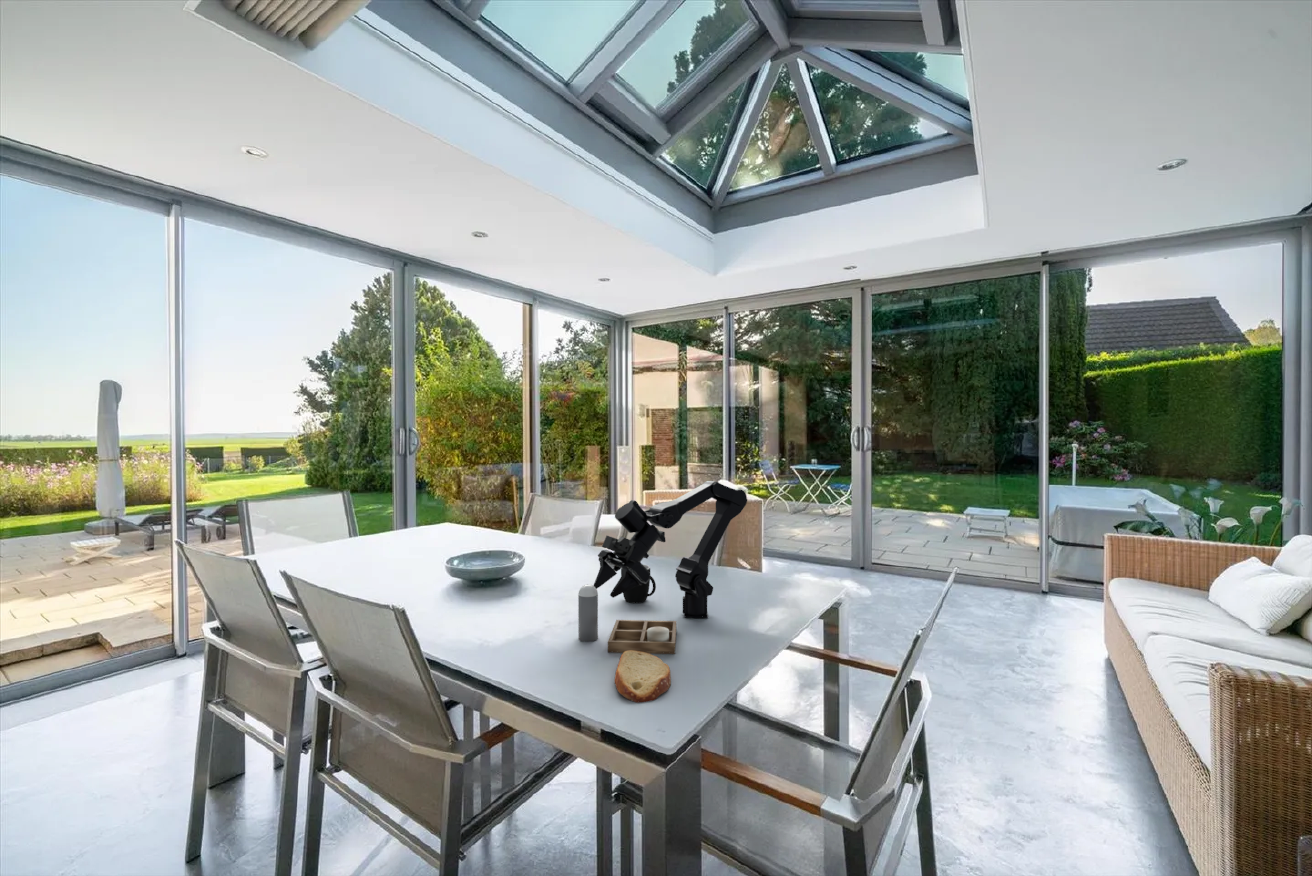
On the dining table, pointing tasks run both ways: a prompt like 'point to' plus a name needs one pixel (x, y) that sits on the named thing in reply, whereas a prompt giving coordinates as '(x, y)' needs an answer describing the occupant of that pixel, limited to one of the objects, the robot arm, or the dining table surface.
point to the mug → (639, 591)
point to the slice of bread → (641, 676)
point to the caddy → (643, 636)
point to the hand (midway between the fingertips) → (602, 592)
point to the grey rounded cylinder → (588, 613)
